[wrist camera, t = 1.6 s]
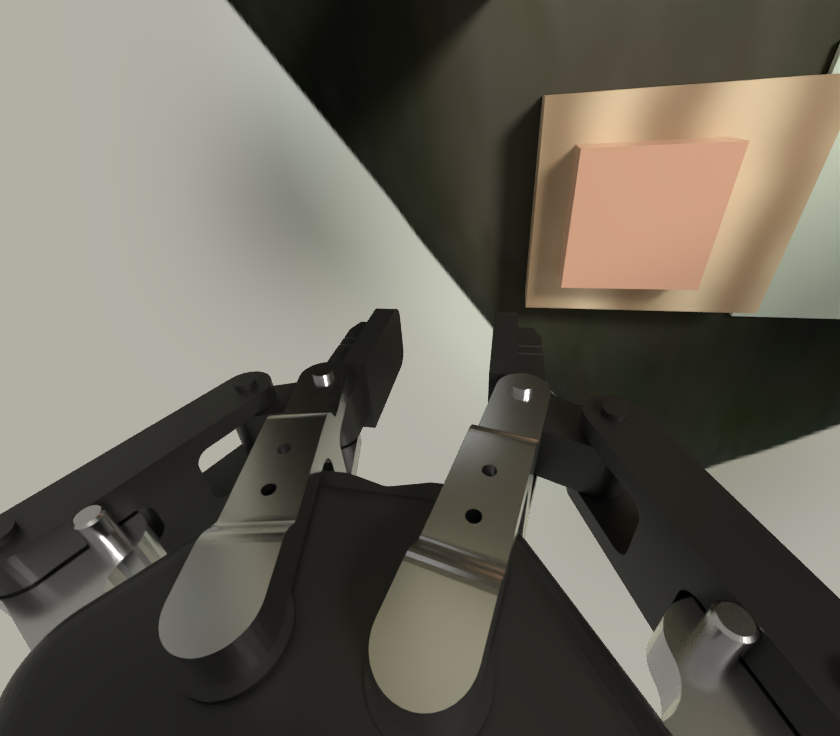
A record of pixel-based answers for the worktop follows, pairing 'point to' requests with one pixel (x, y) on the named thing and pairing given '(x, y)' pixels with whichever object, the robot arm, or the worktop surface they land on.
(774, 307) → the sage mat
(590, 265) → the terracotta coaster
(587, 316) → the worktop surface
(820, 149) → the oak board
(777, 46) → the worktop surface
